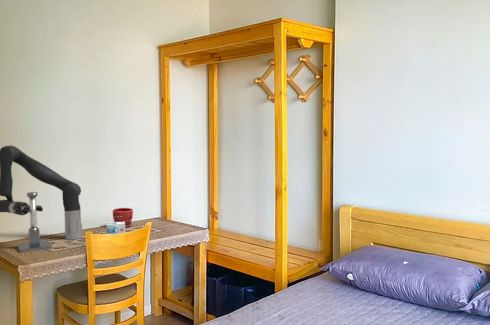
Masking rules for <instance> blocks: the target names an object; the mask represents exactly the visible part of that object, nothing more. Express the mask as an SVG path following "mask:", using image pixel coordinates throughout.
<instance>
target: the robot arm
mask: <svg viewBox="0 0 490 325" xmlns="http://www.w3.org/2000/svg"><path fill="white" fill-rule="evenodd" d="M13 163H15V164H16V165H19V166H21V167H22V168H23V169H24V170H25V171H26V172H27V173H28V174H29V175H30V176H32V177H33V178H34V179H36V180H38V181H40V182H42V183H44V184H46V185H49V186H52V187H54V188H56V189H59V190H60V191H62V192H61V193H62V205H63V206H62V207H63V208H64V211H63V213H64V215H63V216H64V233H65V234H64V237H65V240H78V239H82V238H83V223H82V214H81V213H82V212H81V211H82V210H81V204H80V199H79V198H80V197H79V196H80V195H81V192H82V189H81V186H80V185H79V184H78V183H76V182H74V181H71V180H69V179H68V178H65V177H63V176H62V175H60V174H59V173H58V172H56V171H54V170H53V169H52V168H50V167H48V166H47V165H45V164H44V163H42V162H40V161H38V160H36V159H35V158H32V157H31V156H29V155H28V154H26V153H25V152H23V151H22V150H21V149H19V148H18V147H17V146H15V145H5V146H2V147H1V148H0V196H1V197H6V198H7V200H6V198H5V199H0V213H10V214H14V215H18V216H26V215H27V214H29V213H30V204H29V203H27V202H24V201H19V200H18V201H14V198H13V184H14V180H13V174H12V165H13ZM36 212H44V208H43V207H42V205H38V204H36Z"/></svg>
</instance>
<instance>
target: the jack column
mask: <svg viewBox="0 0 490 325" xmlns="http://www.w3.org/2000/svg"><path fill="white" fill-rule="evenodd" d="M26 196H27V198H28V199H29V203H28V204H29V205H30V212H29V219H30V220H29V223H30V228H31V230H34V229H37V228H38V224H37V223H38V222H37V211H36V205H37V203H36V202H37V198H36V197H38V192H37V191H29V192H27V193H26Z"/></svg>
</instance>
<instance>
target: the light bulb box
mask: <svg viewBox="0 0 490 325" xmlns="http://www.w3.org/2000/svg"><path fill="white" fill-rule="evenodd" d="M105 227H106V228H105V231H106V233H105V234H117V233H124V232H125V233H126V228H125V222H114V221H113V222H111V221H110V222H106V226H105Z"/></svg>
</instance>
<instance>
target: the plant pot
mask: <svg viewBox="0 0 490 325" xmlns="http://www.w3.org/2000/svg"><path fill="white" fill-rule="evenodd" d="M133 213H134V210H133V208H132V207H131V208H130V207H119V208H115V209H113V210H112V219H113V222H125V229H126V228H130V227H131V226H132V224H133V223H132V221H133V216H134V215H133Z"/></svg>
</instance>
